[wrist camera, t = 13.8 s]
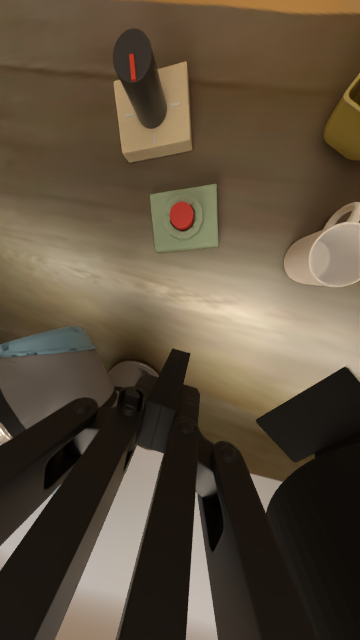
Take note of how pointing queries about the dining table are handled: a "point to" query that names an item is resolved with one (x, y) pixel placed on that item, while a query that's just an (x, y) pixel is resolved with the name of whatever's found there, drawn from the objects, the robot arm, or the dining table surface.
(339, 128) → the flower pot
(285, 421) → the table lamp
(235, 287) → the dining table surface
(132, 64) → the dimmer knob
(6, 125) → the dining table surface
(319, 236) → the cup
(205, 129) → the dining table surface
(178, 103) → the dimmer panel
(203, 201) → the switch box
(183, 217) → the button
